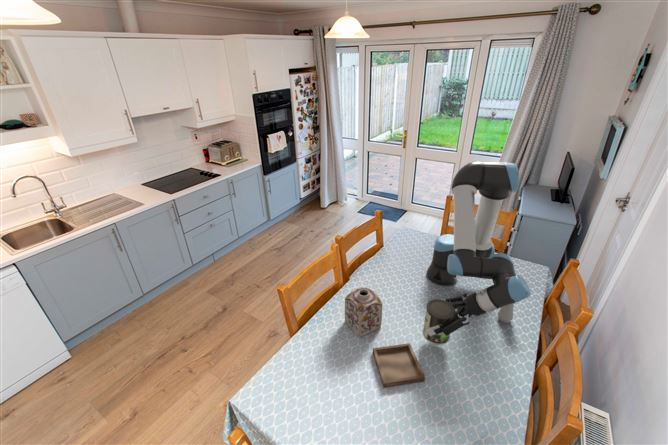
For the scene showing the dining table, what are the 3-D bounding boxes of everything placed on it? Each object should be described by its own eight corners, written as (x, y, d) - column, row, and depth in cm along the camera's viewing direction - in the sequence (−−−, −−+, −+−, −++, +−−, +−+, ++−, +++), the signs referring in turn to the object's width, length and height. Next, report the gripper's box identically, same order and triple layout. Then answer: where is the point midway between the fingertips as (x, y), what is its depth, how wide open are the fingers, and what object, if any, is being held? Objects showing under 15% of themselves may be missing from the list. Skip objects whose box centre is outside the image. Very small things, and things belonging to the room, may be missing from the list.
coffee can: (455, 338, 121) (461, 312, 114) (435, 349, 117) (440, 322, 110) (436, 321, 129) (441, 295, 122) (417, 330, 125) (420, 304, 118)
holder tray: (372, 352, 122) (372, 348, 120) (409, 347, 123) (409, 343, 122) (383, 387, 108) (383, 383, 107) (424, 381, 110) (425, 377, 109)
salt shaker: (513, 325, 132) (520, 302, 126) (498, 324, 133) (505, 300, 127) (509, 315, 137) (516, 293, 131) (495, 314, 138) (501, 291, 132)
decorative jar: (381, 327, 133) (384, 295, 124) (359, 339, 128) (360, 306, 119) (365, 310, 142) (366, 279, 133) (344, 320, 137) (343, 288, 128)
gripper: (474, 275, 117) (427, 296, 130) (474, 317, 99) (419, 338, 112) (487, 289, 118) (438, 309, 131) (489, 334, 99) (432, 352, 112)
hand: (429, 322), depth 121 cm, fingers closed on coffee can, 10 cm apart
